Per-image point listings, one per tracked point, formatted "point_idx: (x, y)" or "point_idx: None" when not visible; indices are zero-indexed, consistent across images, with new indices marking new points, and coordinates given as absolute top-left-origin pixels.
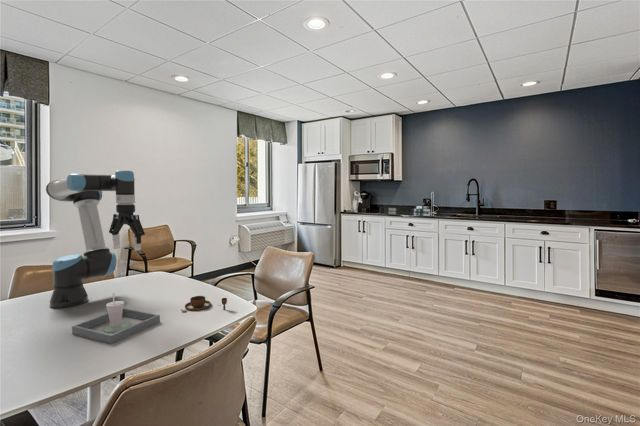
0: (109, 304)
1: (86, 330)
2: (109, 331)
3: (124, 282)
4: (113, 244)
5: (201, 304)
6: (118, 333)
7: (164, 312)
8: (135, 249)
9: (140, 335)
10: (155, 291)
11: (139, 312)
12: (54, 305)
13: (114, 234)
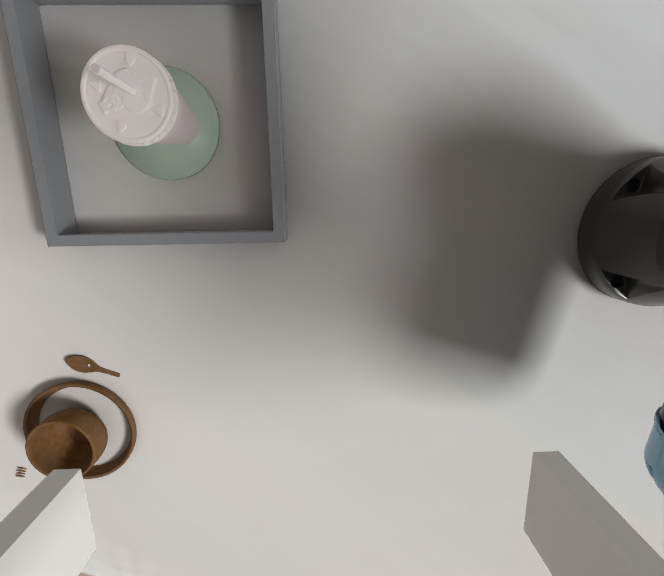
0: (140, 68)
1: None
2: None
3: (655, 510)
4: (612, 509)
5: (43, 428)
6: (5, 13)
7: (149, 323)
8: (34, 490)
9: (4, 106)
10: (414, 483)
11: (164, 233)
12: (658, 156)
13: None
